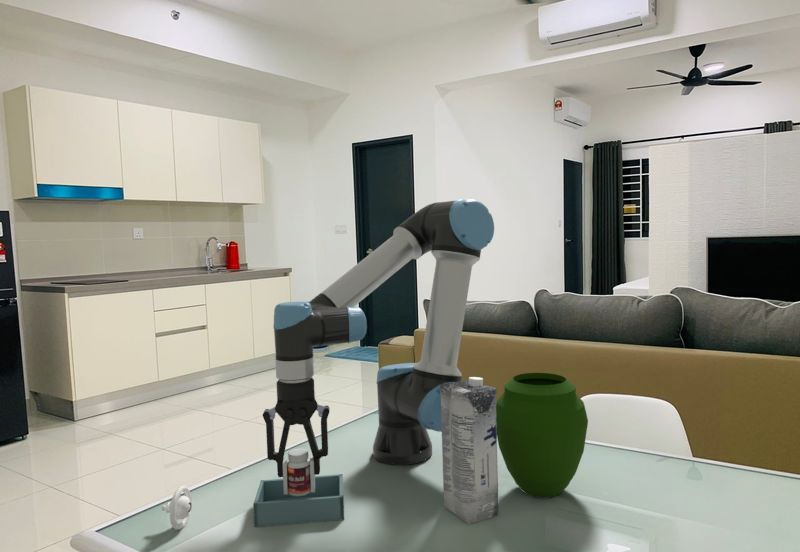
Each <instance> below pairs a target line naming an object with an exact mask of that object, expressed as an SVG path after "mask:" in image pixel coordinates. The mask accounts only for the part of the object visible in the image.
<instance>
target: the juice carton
mask: <svg viewBox="0 0 800 552" xmlns="http://www.w3.org/2000/svg"><path fill="white" fill-rule="evenodd" d="M440 394H441V424H442V432H441V452H442V479H443V484H442V485H443V499H444V500H443V501H444V506H445V508H446V509H447V510H448V511H450V512H452V513H453V514H454V515H456V516H457V517H459V518H460V519H461V520H462V521H463V522H464V523H466V524H468V525H470V524H475V523H477V522H482V521H484V520H487V519H491V518H494V517H497V516H498V514H499V472H498V438H497V425H496V404H497V394H498V393H497V388H496V387H494V386H489V385H484V378H483V377H478V376H469V377H468V379H466V380H461V381H458V382H453V383H448V384H442V385H440Z"/></svg>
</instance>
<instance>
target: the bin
mask: <svg viewBox="0 0 800 552" xmlns="http://www.w3.org/2000/svg"><path fill="white" fill-rule="evenodd" d="M343 477H344V474H343V473H341V474H339V473H338V474H327V475H326V474H325V475H315V492H312V493H311V492H310V493H308V494H306V495H303V496H293V495H290V494H289V493H288V494H284V485H283V478H274V479H264V480H260V482H259V485H258V488H257V491H256V494H255V498H254V501H253V503H252V504H253V505H252V507H253V525H254V528H260V527H262V528H263V527H270V526H271V527H273V526H285V525H286V526H287V525H296V524H298V525H299V524H306V523H307V524H308V523H318V522H319V523H320V522H330V521H331V522H332V521H344V520H345V503H344V502H345V501H344V500H345V499H344V498H345V497H344V496H345V495H344V493H345V492H344V478H343Z"/></svg>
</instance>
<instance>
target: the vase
mask: <svg viewBox="0 0 800 552" xmlns="http://www.w3.org/2000/svg"><path fill="white" fill-rule="evenodd" d="M503 385H504V386H503V387H504V391H503V393H502V394H501V395H500V396H499V397H498V399H496V425H497V445H498V448H499V450H500V454H501V456H502V457H503V461H504V464H505V467H506V469H507V470H508V472H509V474H510V476H511V477H512V479H513V480H514V483H515V484H516V485H517V486H518V487H519V489H521V491H523V493H525V494H527V495H529V496H531V497H534V498H539V497H541V498H540V499H544V498H545V499H548V498H547V497H549V498H552V497H553V496H554V497H557V496H559V495H560V494H561V493H563V492H564V490H566V488H567V487H568V486H569V485H570V483H571V481H572V479H573V478H574V477H575V475H576V473H577V471H578V468H579V465H580V462H581V459H582V457H583V454H584V451H585V444H586V438H587V431H588V430H587V429H588V425H589V419H588V415H587V411H586V405H585V403H584V400H582V399H581V397H580V396H579V395H578V394H577V392H576V390H577V386H576V385H575V384H574V383H573V382H572V381H569V380H568V379H567V378H566V377H565V376H562V375H561V374H560V375H559V374H556V373H549V372H547V373H546V372H527V373H520V374H517V375H515V376H513V377H512V378H511V379H509V380H507V382H505V383H504V384H503ZM554 497H553V498H554Z"/></svg>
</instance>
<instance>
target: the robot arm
mask: <svg viewBox="0 0 800 552" xmlns="http://www.w3.org/2000/svg"><path fill="white" fill-rule="evenodd" d="M494 221H495V220H494V218H493V216H492V213H490V211H489V209H488V207H487V206H486V205H485V204H484V203H482V202H481V201H479V200H476V199H465V198H459V199H457V200H450V201H441V202H438V201H437V202H432V203H430V204H427V205H425V206H424V207H422V208H420V209H419V210H417V211H416V212H415V213H413V214H412V215H411V216H409V217H408V218H407V219H405V220H404V221H403V222H401V224H399V225H398V226H397V227H395V228H394V229H393V234H392V236H390V237H389V238H388V239H387V240H386V241H384V242H383V243H382V244H380V245H379V246H378V247H377V248H376V249H374V250H373V251H372V252H371V253H369V254H368V255H366V257H364V258H363V259H361V260H360V261H359V262H358V263H356V265H354V266H353V267H352V268H350V269H349V270H348V271H346V273H344V274H343V275H342V276H340V277H339V278H337V280H335V281H334V282H333V283H331V284H330V285H329V286H328V287H326V289H324V290H323V291H322V292H320V293H318V295H316V296H314V297H313V298H312V299H311V300H310V301H286V302H280V303H278V304H276V305H275V307H274V310H273V333H274V334H273V335H274V348H275V350H274V351H275V377H276V379H278V380H277V381H276V400H277V401H276V403H275V406H274V407H272V408H269V409H268V408H265V409H264V410H263V413H262V418H263V419H264V423H265V427H266V429H265V430H266V432H265V433H266V453H267V454H266V455H267V456H266V457H267V459H268V460H269V461H275V462H276V466H277V468H276V469H277V477H278V478H282V479H283V485H284V494H288V475H287V463H288V461H289V459H288V457H285V452H286V447H287V443H288V438H289V437H288V436H289V432H290V428H291V426H294V425H302V426H303V428H304V431H305V433H306V437H307V442H308V445H309V448H310V449H309V450H310V451H311V455H312V456H311V455H310V459H309V460H310V478H311V493H312V492H315V476H319V475H320V472H321V458H323V457H327V456H329V455H328V454H329V439H328V438H329V437H328V434H329V433H328V418H329V415H330V406H329V405H321V404H318V401H317V400H316V396H315V395H316V394H315V393H316V392H315V379H314V378H313V376H314V375H315V373H314V371H315V368H314V367H315V366H314V348H315V347H318V348H319V347H322V346H331V345H340V344H346V343H347V344H351V343H354V342H358V341H361V340H363V339H364V338H365V336H366V334H367V329H368V324H367V317H366V315H365V312H364V311H363V309H362V308H360V307H358V306H356V305H358V304H359V303H360V302H362V301H363V300H364V299H366V297H368V296H369V295H370V294H371V293H373V292H374V291H375V290H376V289H377V288H379V287H380V286H381V285H382V284H384V283H385V282H386V281H387V280H388V279H389V278H391V277H392V276H393V275H394V274H396V273H397V272H398V271H399V270H401V268H403V267H404V266H405V265H407V264H408V263H409V262H410V261H411V260H419V259H420V258H421V257H422V256H424V255H425V254H427V253H429V252H430V253H431V255H432V256H433V257H434V259H435V267H434V273H433V281H432V285H431V286H432V287H431V293H430V298H429V299H430V300H429V305H428V312H427V317H426V322H425V323H426V325H425V330H424V338H423V343H422V349H421V356H420V360H419V361H418V362H405V363H397V364H396V363H395V364H389V365H385V366H382V367H380V368H379V369H378V370H377V374H376V386H377V387H376V388H377V407H378V408H377V411H378V427H377V431H376V435H375V437H374V442H373V446H372V455H373V456H372V457H373V458H374V459H375V460H376V461H378V462H381V463H383V464H388V465H394V466H396V465H397V466H398V465H399V466H404V465H413V463H414V464H418V462H419V463H421V461H422V462H424V461H426V460H425V459H427V458H428V459H430V458H431V457H432V456H433V443H432V441H431V437H430V435H429V432H428V430H431V431H434V432H437V433H440V432H441V433H442V424H441V394H440V385H442V384H448V383H453V382H458V381H462V377H463V374H462V372H461V371H460V369H459V368H458V359H459V352H460V347H461V339H462V334H463V333H462V332H463V326H464V320H465V313H466V308H467V302H468V301H467V300H468V296H469V295H468V293H469V287H470V283H471V282H470V281H471V276H472V275H471V274H472V268H473V266H474V265H475V264H476V263H477V262H479V261H480V259H481V252H482V250H483V249H484V248H486V247H488V244H490V243H491V242H492V240H493V237H494V235H495V222H494ZM316 411H317V415H318V417H320V432H321V433H320V435H321V448H319V446H318V442H317V440H316V436H315V432H314V429H313V426H312V422H311V418H312V417H313V415H314V414H315V412H316ZM276 413H277V415H278V416H279V417H280V419H282V421H283V422H284V423H283V428H282V432H281V438H280V443H279V448H278V452H277V451H276V449H275V446H276V444H275V427H274V426H275V425H274V420H275V418H276ZM430 456H431V457H430ZM429 457H430V458H429ZM428 459H427V460H428ZM423 460H424V461H423Z"/></svg>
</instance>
